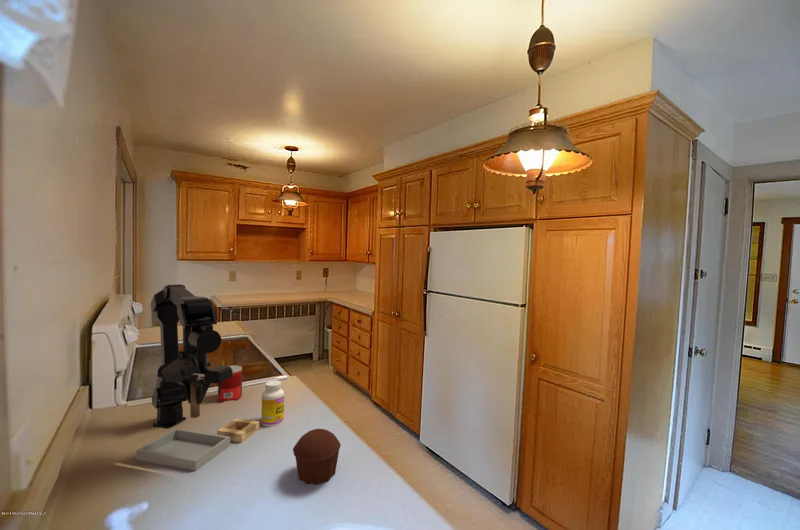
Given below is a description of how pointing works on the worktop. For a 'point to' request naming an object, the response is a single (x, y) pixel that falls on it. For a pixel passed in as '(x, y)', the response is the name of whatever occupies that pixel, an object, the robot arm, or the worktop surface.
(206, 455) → the tray
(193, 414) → the pin
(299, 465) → the muffin
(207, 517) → the worktop surface
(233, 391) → the canned food
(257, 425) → the holder
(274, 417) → the supplement bottle
